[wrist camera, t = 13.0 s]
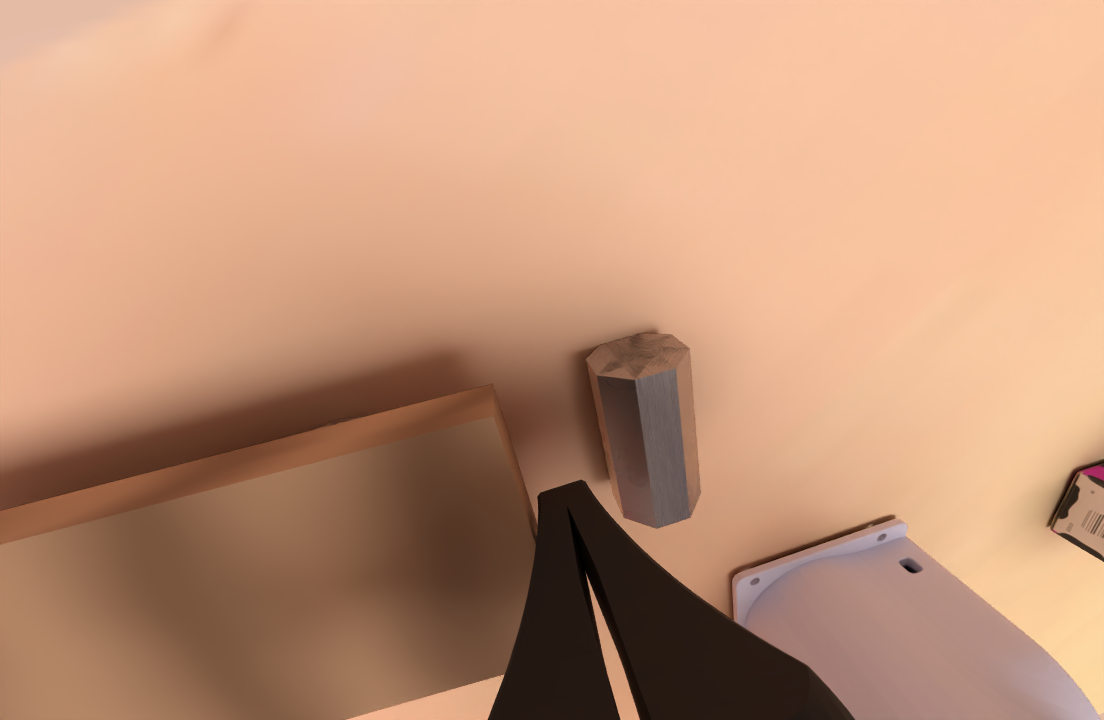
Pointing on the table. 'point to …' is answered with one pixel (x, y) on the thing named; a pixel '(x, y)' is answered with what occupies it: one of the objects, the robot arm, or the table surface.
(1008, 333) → the table surface
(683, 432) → the roller
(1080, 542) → the candy bar box
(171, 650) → the slab
